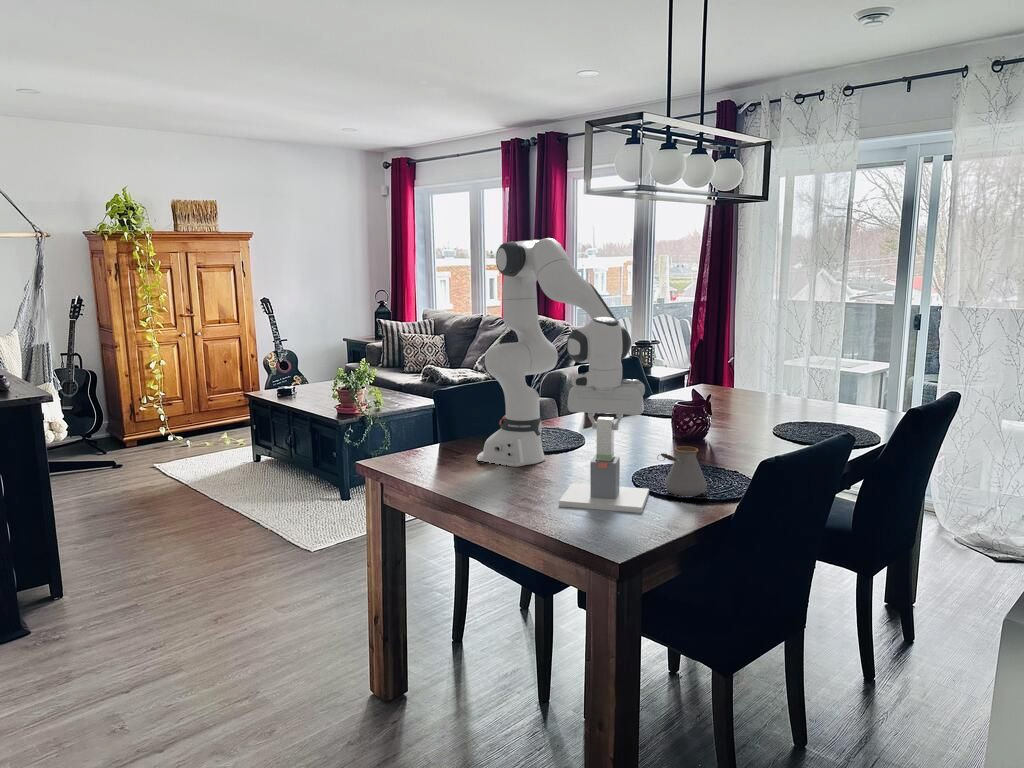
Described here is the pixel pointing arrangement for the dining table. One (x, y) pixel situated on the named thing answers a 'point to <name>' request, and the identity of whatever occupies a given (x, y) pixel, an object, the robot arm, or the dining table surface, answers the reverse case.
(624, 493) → the stand
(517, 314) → the robot arm
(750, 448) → the dining table surface
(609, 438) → the column
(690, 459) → the coffee pot
